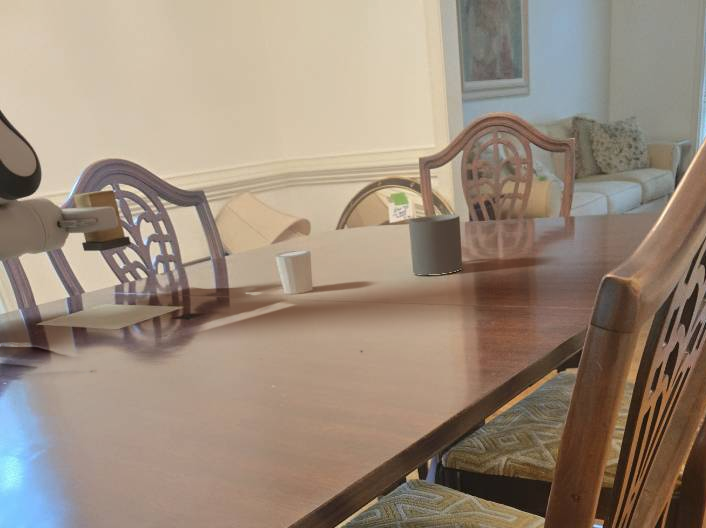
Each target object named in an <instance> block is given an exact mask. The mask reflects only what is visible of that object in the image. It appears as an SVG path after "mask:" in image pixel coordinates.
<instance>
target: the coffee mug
mask: <svg viewBox="0 0 706 528" xmlns="http://www.w3.org/2000/svg"><path fill="white" fill-rule="evenodd" d="M408 228H409V238H410V239H409V240H410V251H411V252H410V253H411V263H412V264H411V265H412V274H413V273H415V274H421V275H429V274H442V273H449V272H454V271H457V270H460V269H461V268H462V269H463V255H462V239H461V238H462V237H461V236H462V235H461V219H460V215H459V214H451V213H450V214H433V215H425V216H419V217H414V218H411V219H409V220H408Z"/></svg>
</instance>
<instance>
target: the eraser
mask: <svg viewBox="0 0 706 528" xmlns="http://www.w3.org/2000/svg"><path fill="white" fill-rule="evenodd" d="M73 199H74V204H75V206H76V207H75V208H87V207H107V206H110V207H113V208H114V209H115V212H116V216H117V220H118V226H117V227H115V228H112V229H106V230H101V231H95V232H87V233H83V236H84V240H85V241H84V242H82V243H81V245H82V248H83V251H84V252H105V251H109V250H113V249H117V248H122V247H126V246H130V245H131V244H132V243H131V240H130V236H125V232H124V227H123V223H122V220H121V215H120V212H119V208H118V203H117V199H116V195H115V191H114V190H113V189H110V190H96V191H90V192H84V193H75V194H73Z"/></svg>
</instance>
